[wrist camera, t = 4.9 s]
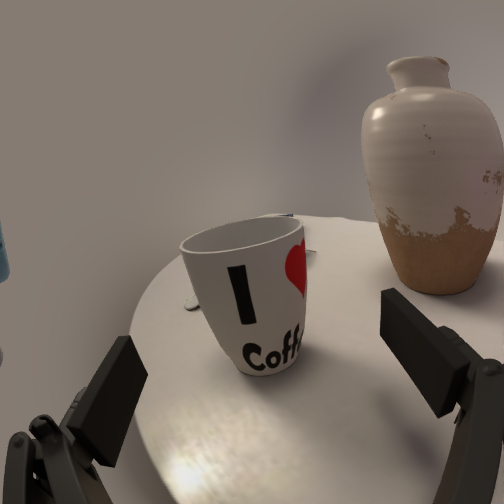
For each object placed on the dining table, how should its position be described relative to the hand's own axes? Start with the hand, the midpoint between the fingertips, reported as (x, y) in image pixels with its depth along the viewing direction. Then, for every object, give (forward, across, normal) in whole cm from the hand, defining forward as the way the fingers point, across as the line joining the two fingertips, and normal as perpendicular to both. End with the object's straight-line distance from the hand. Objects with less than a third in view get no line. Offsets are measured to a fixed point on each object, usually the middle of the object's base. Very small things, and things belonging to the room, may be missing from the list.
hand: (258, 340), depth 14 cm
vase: (+12, +20, -6) cm, 24 cm away
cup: (+7, 0, -6) cm, 9 cm away
